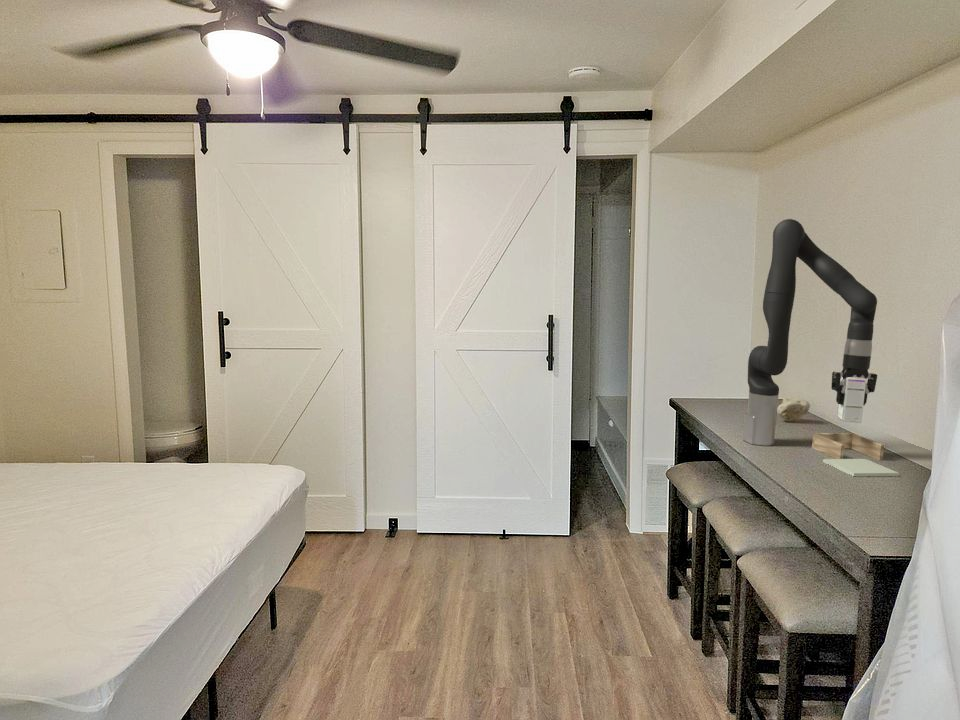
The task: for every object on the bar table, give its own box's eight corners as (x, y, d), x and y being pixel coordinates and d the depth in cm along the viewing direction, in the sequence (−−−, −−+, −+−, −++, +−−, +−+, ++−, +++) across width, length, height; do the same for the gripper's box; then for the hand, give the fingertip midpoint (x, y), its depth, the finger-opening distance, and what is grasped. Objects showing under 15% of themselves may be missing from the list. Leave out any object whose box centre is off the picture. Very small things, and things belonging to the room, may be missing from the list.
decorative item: (803, 420, 256) (805, 395, 255) (811, 425, 248) (814, 400, 246) (771, 418, 258) (773, 394, 256) (778, 423, 249) (781, 398, 248)
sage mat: (853, 476, 185) (853, 473, 184) (823, 462, 198) (823, 459, 198) (898, 476, 186) (898, 472, 186) (865, 461, 200) (865, 458, 200)
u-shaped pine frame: (839, 460, 201) (841, 444, 200) (811, 447, 215) (813, 433, 214) (882, 460, 202) (884, 444, 202) (851, 447, 216) (853, 433, 216)
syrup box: (861, 423, 203) (867, 378, 201) (841, 421, 205) (847, 376, 203) (855, 419, 209) (861, 375, 207) (835, 417, 210) (841, 374, 208)
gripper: (843, 354, 199) (837, 406, 202) (886, 355, 201) (880, 407, 203) (828, 351, 207) (822, 401, 209) (870, 352, 208) (864, 402, 210)
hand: (850, 404), depth 206 cm, fingers closed on syrup box, 6 cm apart
